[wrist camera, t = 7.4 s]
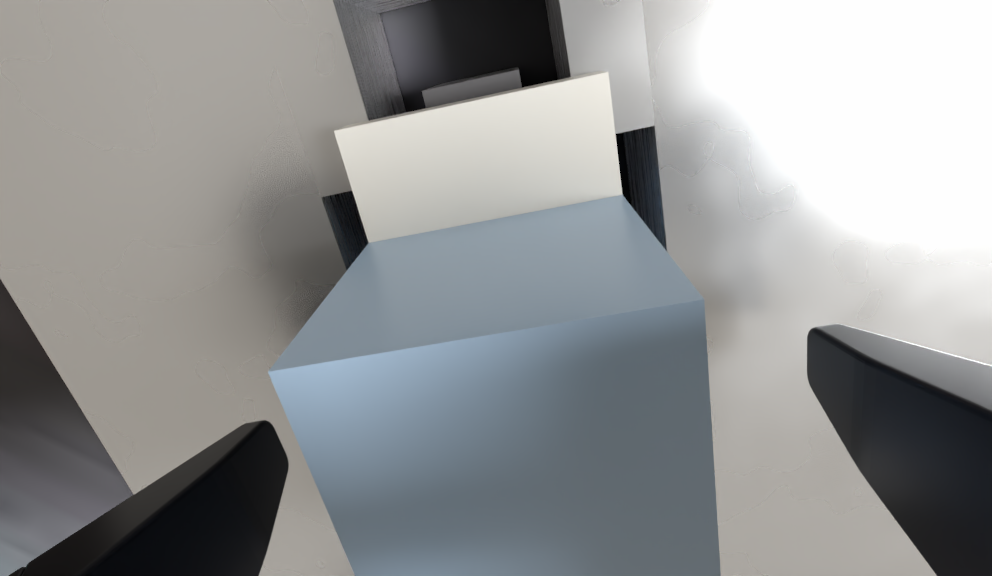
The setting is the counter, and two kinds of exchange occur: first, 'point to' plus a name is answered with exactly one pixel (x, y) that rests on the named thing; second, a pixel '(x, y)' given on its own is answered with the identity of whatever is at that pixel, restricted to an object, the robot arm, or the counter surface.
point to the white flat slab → (654, 196)
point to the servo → (506, 351)
